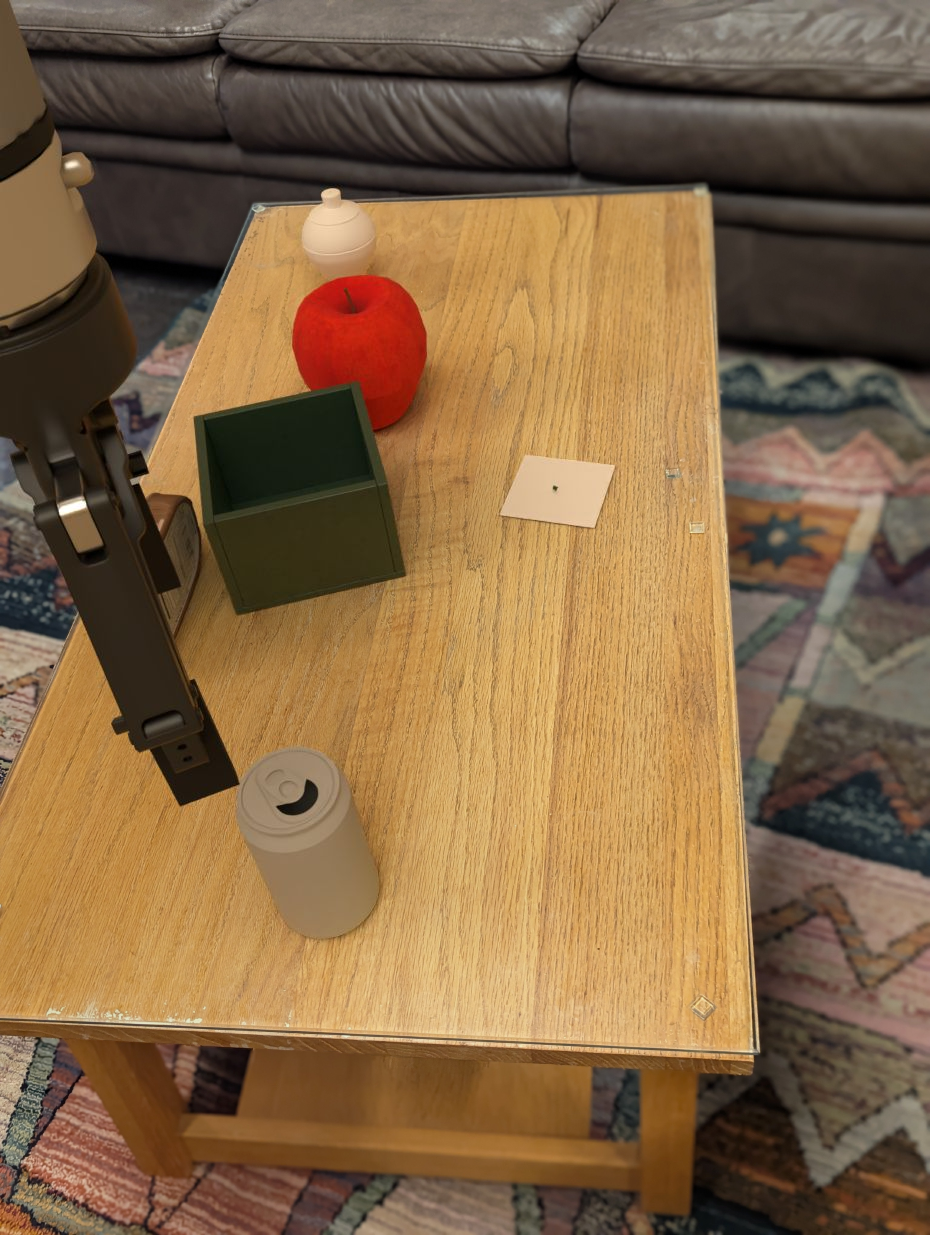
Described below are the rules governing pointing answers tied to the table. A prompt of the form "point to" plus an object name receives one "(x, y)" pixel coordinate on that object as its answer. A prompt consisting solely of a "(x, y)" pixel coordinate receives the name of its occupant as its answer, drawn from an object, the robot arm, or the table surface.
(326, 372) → the apple
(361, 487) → the waste bin
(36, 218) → the robot arm
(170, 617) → the tin
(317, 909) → the beverage can
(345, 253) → the spinning top
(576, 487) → the coaster
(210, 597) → the table surface
